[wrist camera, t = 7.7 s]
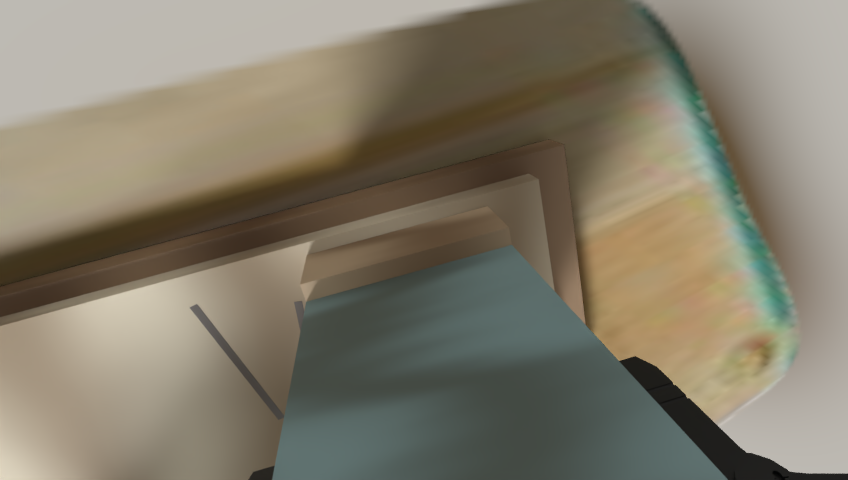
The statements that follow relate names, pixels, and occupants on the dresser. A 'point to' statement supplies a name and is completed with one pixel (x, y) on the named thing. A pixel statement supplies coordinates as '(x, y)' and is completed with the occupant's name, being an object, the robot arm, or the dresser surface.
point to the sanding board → (224, 325)
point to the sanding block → (462, 371)
